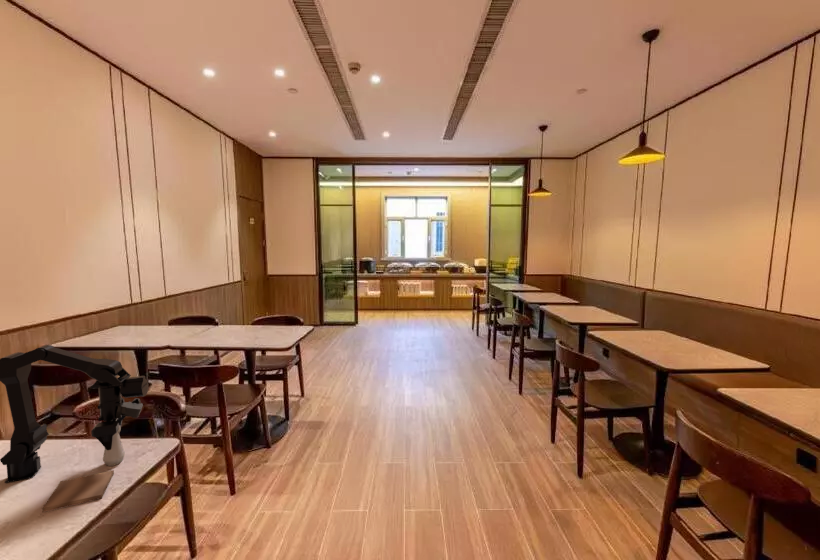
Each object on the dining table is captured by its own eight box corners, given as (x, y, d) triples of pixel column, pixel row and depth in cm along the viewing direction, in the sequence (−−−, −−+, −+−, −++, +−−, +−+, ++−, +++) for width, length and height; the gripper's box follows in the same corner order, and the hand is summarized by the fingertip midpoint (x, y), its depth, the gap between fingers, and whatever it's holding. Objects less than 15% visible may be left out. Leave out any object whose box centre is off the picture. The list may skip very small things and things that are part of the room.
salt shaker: (112, 468, 120) (110, 431, 119) (98, 466, 122) (96, 429, 121) (129, 458, 126) (127, 423, 125) (115, 456, 127) (113, 421, 126)
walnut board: (42, 512, 101) (41, 508, 100) (60, 484, 112) (60, 481, 112) (101, 498, 106) (101, 494, 106) (113, 473, 118) (113, 470, 118)
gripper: (133, 405, 117) (136, 451, 119) (145, 385, 134) (147, 426, 135) (89, 411, 112) (92, 459, 114) (106, 390, 129) (109, 432, 130)
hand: (113, 443), depth 123 cm, fingers open, 9 cm apart
